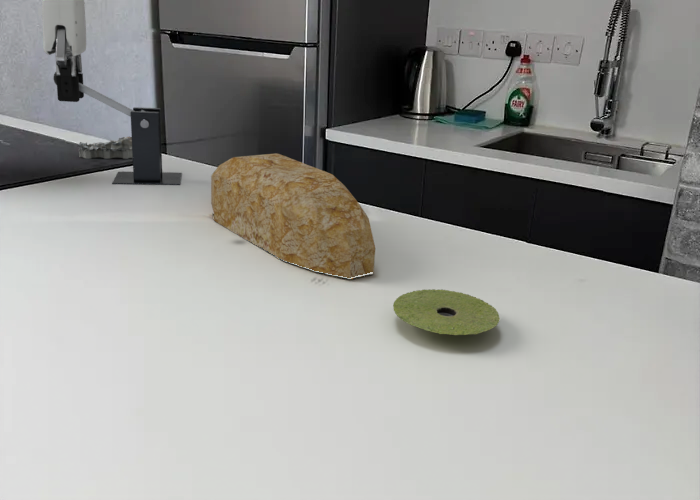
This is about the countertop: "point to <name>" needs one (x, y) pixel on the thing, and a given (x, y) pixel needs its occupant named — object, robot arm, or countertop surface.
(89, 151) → the egg carton
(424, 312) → the green disc with hole
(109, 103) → the lever
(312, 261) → the bread
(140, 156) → the bracket
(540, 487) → the countertop surface
